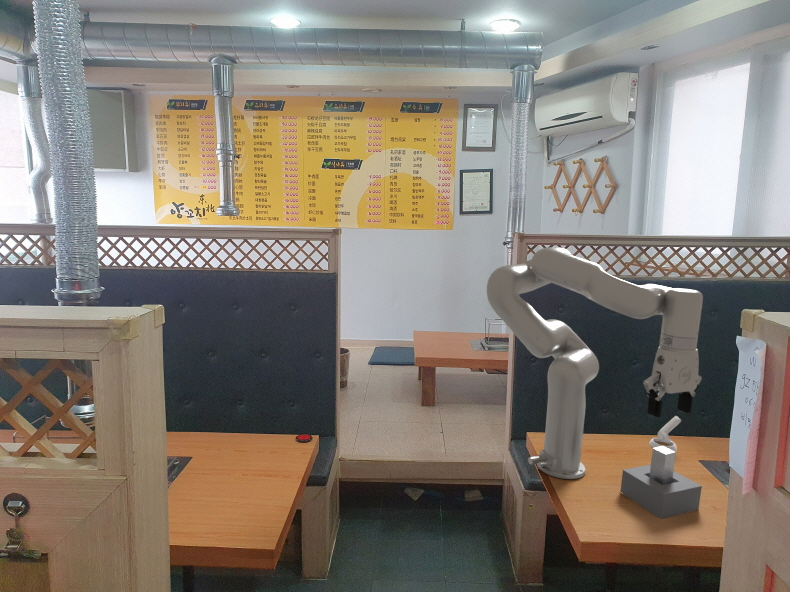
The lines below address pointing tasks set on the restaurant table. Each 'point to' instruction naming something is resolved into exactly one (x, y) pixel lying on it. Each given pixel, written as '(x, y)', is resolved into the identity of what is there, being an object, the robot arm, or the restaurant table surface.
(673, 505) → the well block
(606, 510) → the restaurant table surface
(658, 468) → the steel post
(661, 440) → the hook
